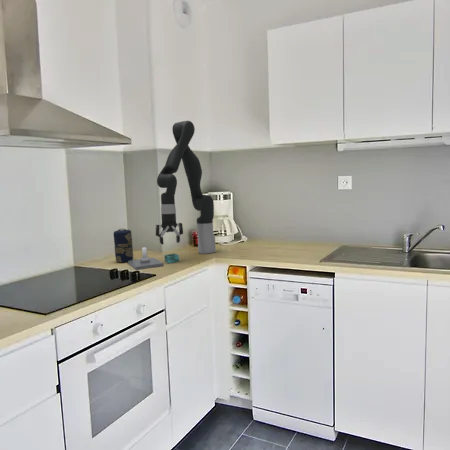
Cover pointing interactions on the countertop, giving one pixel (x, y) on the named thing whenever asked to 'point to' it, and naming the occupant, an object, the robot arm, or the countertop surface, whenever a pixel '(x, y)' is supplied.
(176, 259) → the collar
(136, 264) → the shaft stand
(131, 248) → the canister
